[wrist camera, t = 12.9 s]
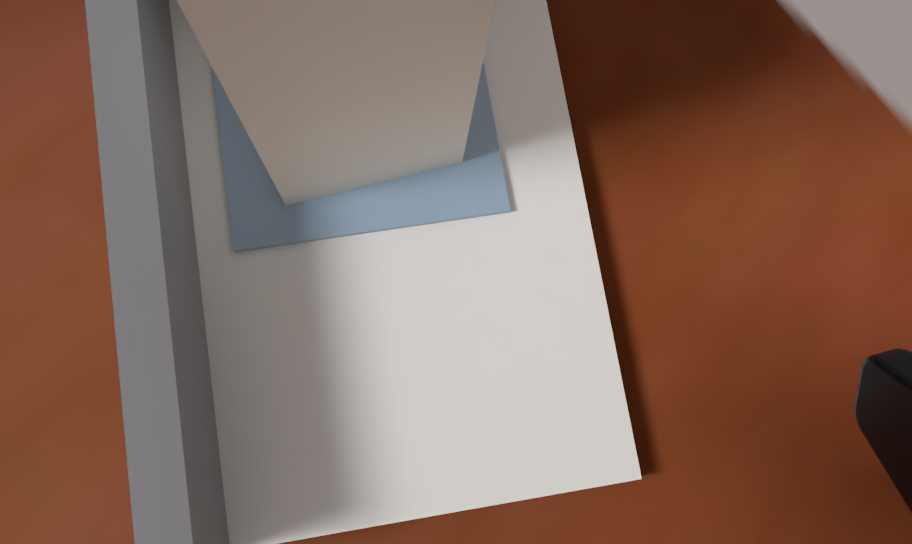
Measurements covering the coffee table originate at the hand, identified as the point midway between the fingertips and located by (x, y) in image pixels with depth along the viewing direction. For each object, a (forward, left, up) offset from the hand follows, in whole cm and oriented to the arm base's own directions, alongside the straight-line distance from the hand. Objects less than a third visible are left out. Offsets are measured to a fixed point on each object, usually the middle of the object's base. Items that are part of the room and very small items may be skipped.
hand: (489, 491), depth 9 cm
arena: (+7, +1, -14) cm, 15 cm away
